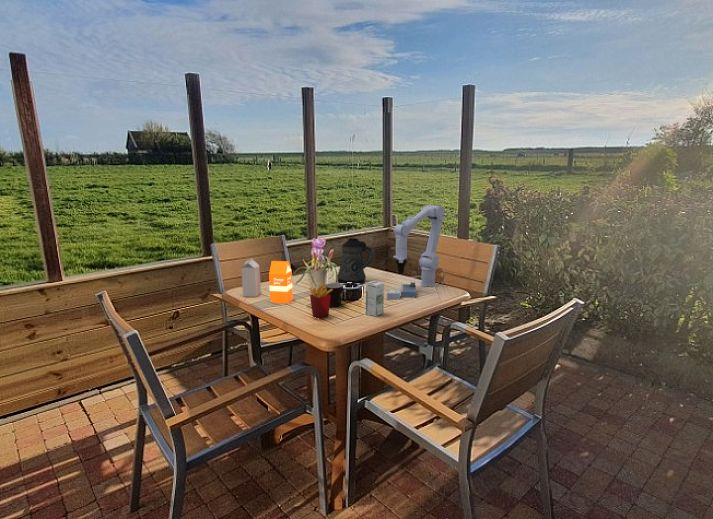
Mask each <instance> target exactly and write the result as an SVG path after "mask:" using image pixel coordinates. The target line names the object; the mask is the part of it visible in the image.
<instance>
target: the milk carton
mask: <svg viewBox="0 0 713 519" xmlns="http://www.w3.org/2000/svg"><path fill="white" fill-rule="evenodd" d="M260 268H261V267H260V265H259V264H258V262H256V261H255V260H254V257H251V258H249V259H248V260H246V261H245V262H244V263H243V265H242V267H241V268H240V269H241V283H242V286H241V287H242V296H243V298H245V297H246V298H250V297H251V298H257V297H259V295H260V294H262V288H261V286H262V285H261V271H260Z"/></svg>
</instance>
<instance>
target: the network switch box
mask: <svg viewBox="0 0 713 519" xmlns="http://www.w3.org/2000/svg"><path fill="white" fill-rule="evenodd" d="M416 288H417V286H416V282H410V283H409V284H408V283H407V284H406V283H405V284H401V286H400V298H405V297H416V298H417V289H416Z"/></svg>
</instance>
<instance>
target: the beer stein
mask: <svg viewBox="0 0 713 519" xmlns="http://www.w3.org/2000/svg"><path fill="white" fill-rule="evenodd" d="M340 249H341V257H340V258H341V259H340V265H339V269H338V272H337V275H336V278H337V277H338V278H337V283H347V282H352V283H361V284H360V285H363V284H364V283H366V278H367V276H366V273H365V268H367V267H368V266H369V265H370V263H371V261H373V260H372V259H373V255H374V254H373V250H372V248H371V247H369V246H367V243H366V242H365V241H361V240H359V239H358V238H355V237H353V238H352V237H351V238H348V239H347V241H345V242H344V243H343V244H342V245H341V246H340ZM362 252H365V253H367V254H368V257H367V258H366V260H365V262H364V263H363V255H362Z"/></svg>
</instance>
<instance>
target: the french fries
mask: <svg viewBox="0 0 713 519" xmlns="http://www.w3.org/2000/svg"><path fill="white" fill-rule="evenodd" d="M326 284H327V283H325V284H323V283H321V284H320V285H319V286H318V287H317V288H316V287H313V288H312V287H309V291H310V292H311V294H310V295H309V298H310V306H311V311H312V312H311V313H312V318H315V317H316V318H315V319H318V318H319V319H318V320H323V319H325V317H326V318H328V316H329V315H330V307H329V306H330V296H331V295H328V293H329V292H331V291H333V290H332V289H330V290H328V291H327V289H326V286H327V285H326ZM322 318H323V319H322Z"/></svg>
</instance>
